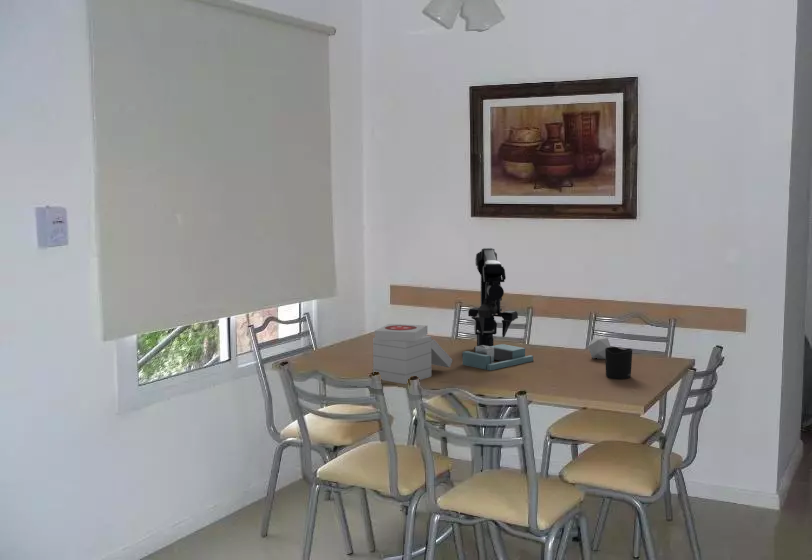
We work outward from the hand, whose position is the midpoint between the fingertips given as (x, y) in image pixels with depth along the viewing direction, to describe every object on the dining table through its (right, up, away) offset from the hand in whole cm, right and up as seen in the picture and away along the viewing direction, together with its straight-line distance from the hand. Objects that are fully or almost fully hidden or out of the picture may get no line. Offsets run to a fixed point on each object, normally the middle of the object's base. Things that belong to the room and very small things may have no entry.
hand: (492, 335), depth 346 cm
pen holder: (+43, -13, -24) cm, 51 cm away
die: (+43, -10, +8) cm, 45 cm away
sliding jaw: (+6, -10, +6) cm, 13 cm away
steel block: (-3, -11, -2) cm, 12 cm away
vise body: (+2, -10, +1) cm, 11 cm away
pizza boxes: (-31, -13, -18) cm, 38 cm away
